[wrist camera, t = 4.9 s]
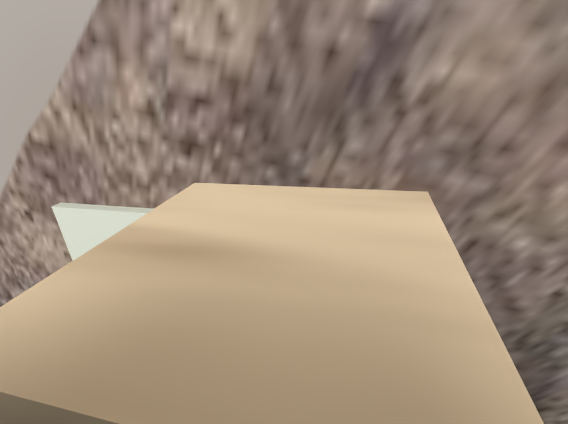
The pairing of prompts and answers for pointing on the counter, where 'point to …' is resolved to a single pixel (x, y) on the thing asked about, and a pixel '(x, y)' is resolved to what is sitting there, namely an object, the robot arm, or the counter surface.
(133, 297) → the maple cube
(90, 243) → the sage mat
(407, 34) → the counter surface
